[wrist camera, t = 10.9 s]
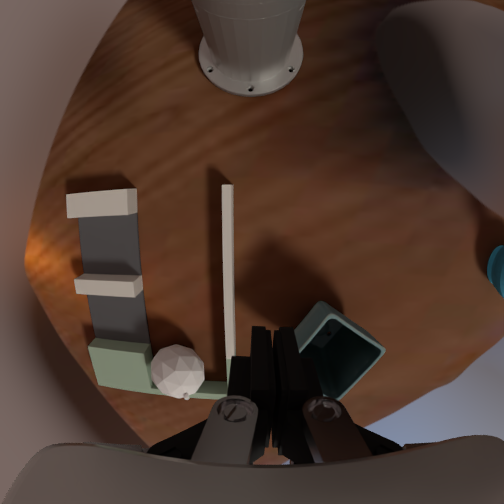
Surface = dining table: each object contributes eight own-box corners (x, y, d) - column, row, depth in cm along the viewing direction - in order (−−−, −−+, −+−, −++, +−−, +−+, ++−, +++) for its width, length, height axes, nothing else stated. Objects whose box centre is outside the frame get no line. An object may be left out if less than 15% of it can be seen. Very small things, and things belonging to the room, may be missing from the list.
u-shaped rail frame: (78, 193, 34) (66, 194, 31) (233, 184, 34) (231, 184, 31) (106, 374, 40) (98, 384, 37) (236, 387, 40) (235, 399, 37)
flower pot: (272, 335, 38) (276, 374, 29) (314, 282, 37) (331, 311, 28) (322, 364, 39) (336, 404, 30) (362, 317, 38) (387, 350, 29)
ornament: (197, 329, 38) (218, 380, 32) (191, 359, 42) (209, 405, 36) (145, 336, 34) (160, 391, 29) (145, 366, 39) (160, 415, 33)
